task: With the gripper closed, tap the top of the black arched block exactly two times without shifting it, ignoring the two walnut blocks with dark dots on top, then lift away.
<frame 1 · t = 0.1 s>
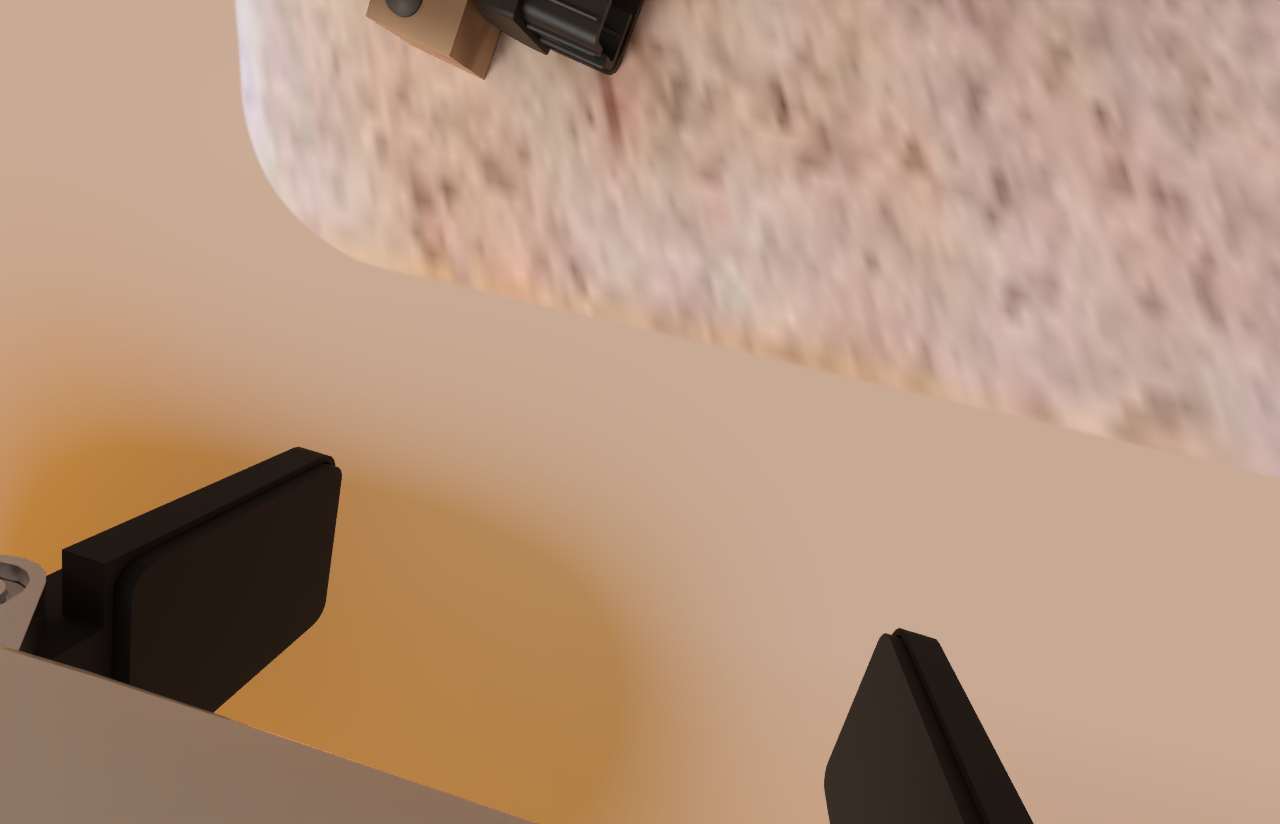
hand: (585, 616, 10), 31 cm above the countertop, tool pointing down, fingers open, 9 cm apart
marked block b: (462, 20, 38), on the countertop
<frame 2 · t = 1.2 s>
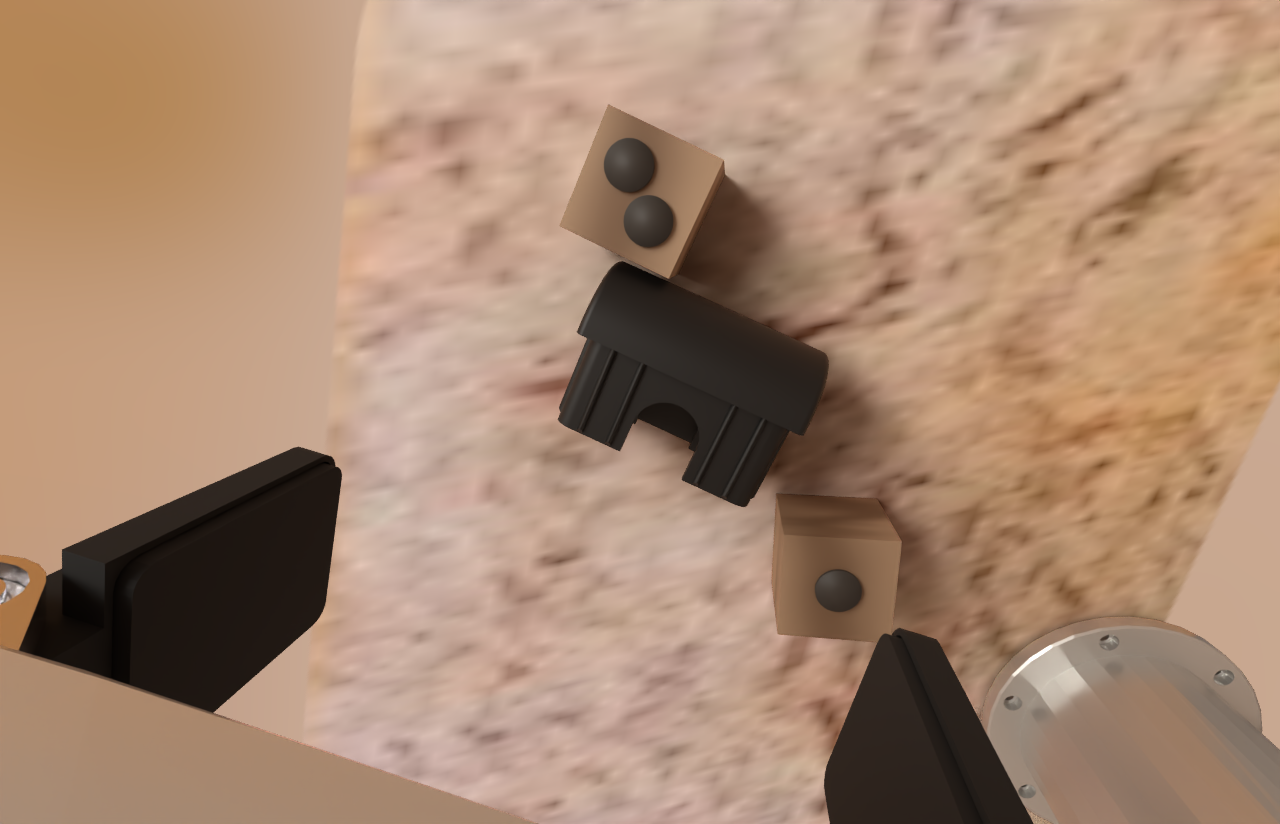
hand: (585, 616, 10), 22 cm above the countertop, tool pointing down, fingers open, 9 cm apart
marked block a: (822, 540, 33), on the countertop
marked block b: (653, 202, 30), on the countertop
black arched block: (694, 364, 32), on the countertop
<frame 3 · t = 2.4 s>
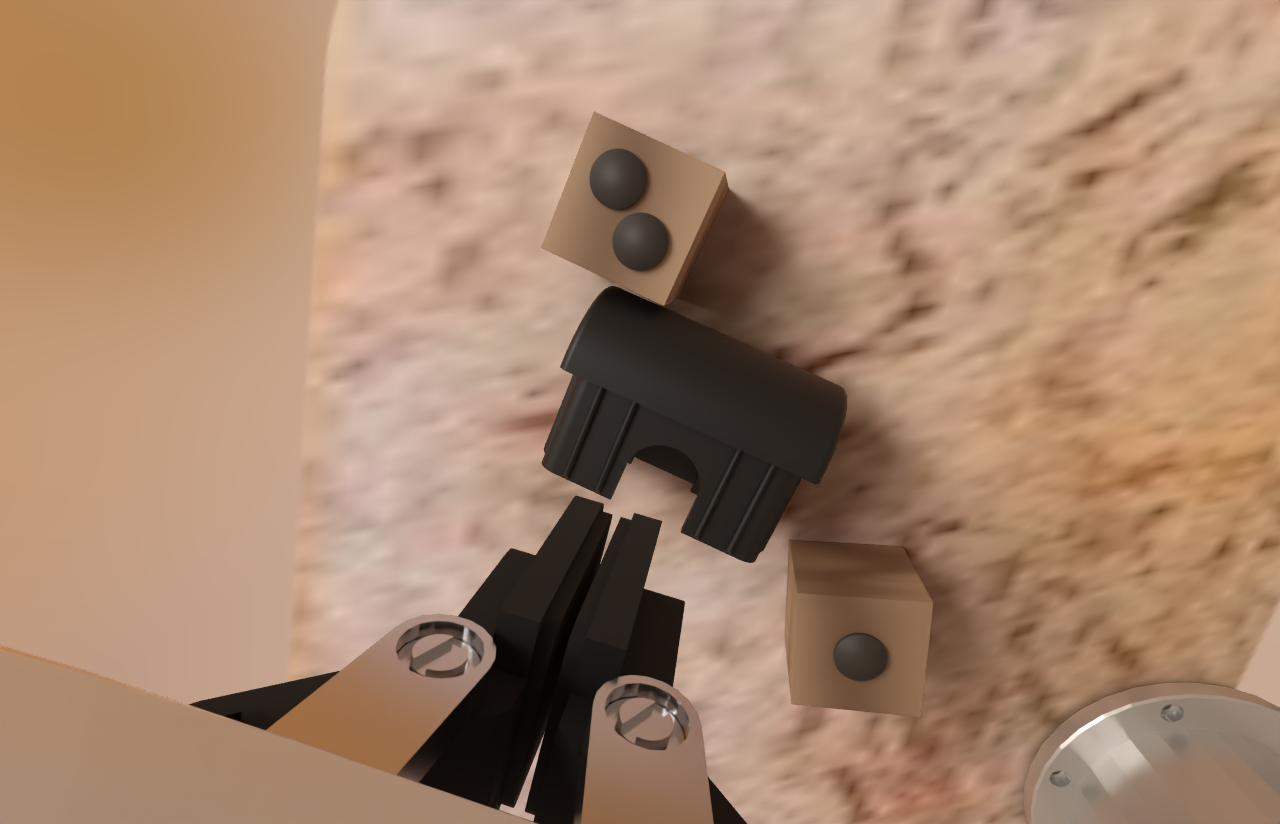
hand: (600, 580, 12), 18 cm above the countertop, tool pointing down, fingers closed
marked block a: (841, 591, 30), on the countertop
marked block b: (650, 220, 27), on the countertop
black arched block: (696, 397, 29), on the countertop
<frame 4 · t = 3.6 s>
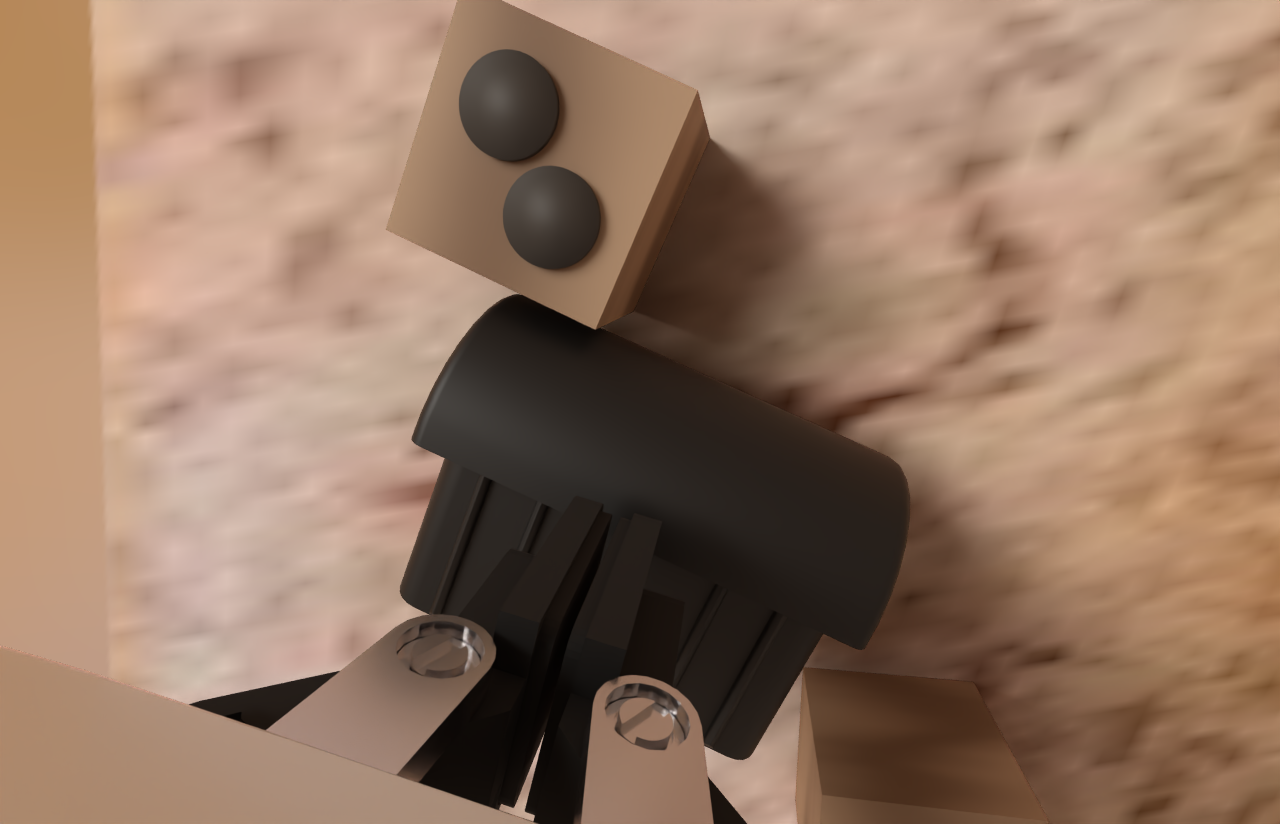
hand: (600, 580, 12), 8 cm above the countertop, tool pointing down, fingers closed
marked block a: (879, 741, 20), on the countertop
marked block b: (589, 190, 18), on the countertop
black arched block: (664, 458, 19), on the countertop
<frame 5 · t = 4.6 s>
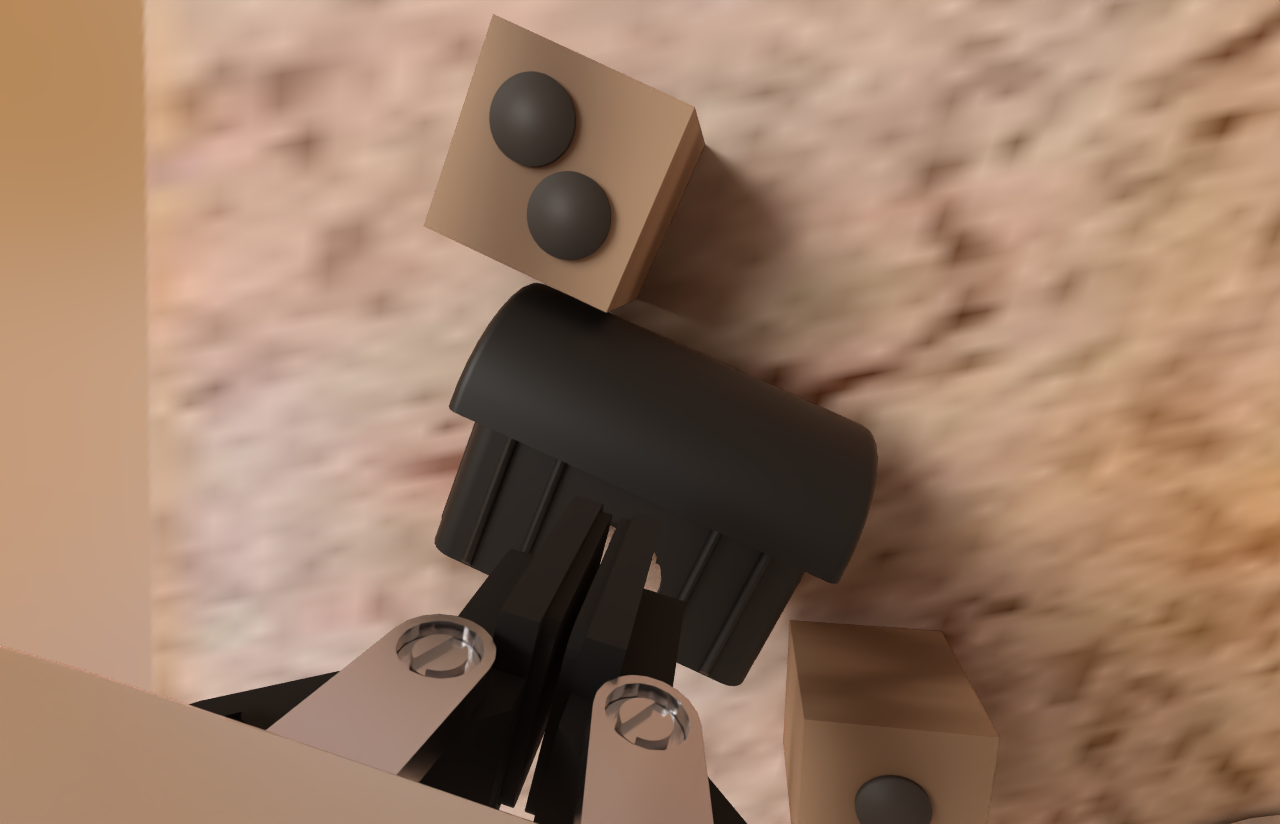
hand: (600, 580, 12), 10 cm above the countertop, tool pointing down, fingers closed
marked block a: (858, 687, 22), on the countertop
marked block b: (597, 190, 20), on the countertop
black arched block: (664, 432, 21), on the countertop
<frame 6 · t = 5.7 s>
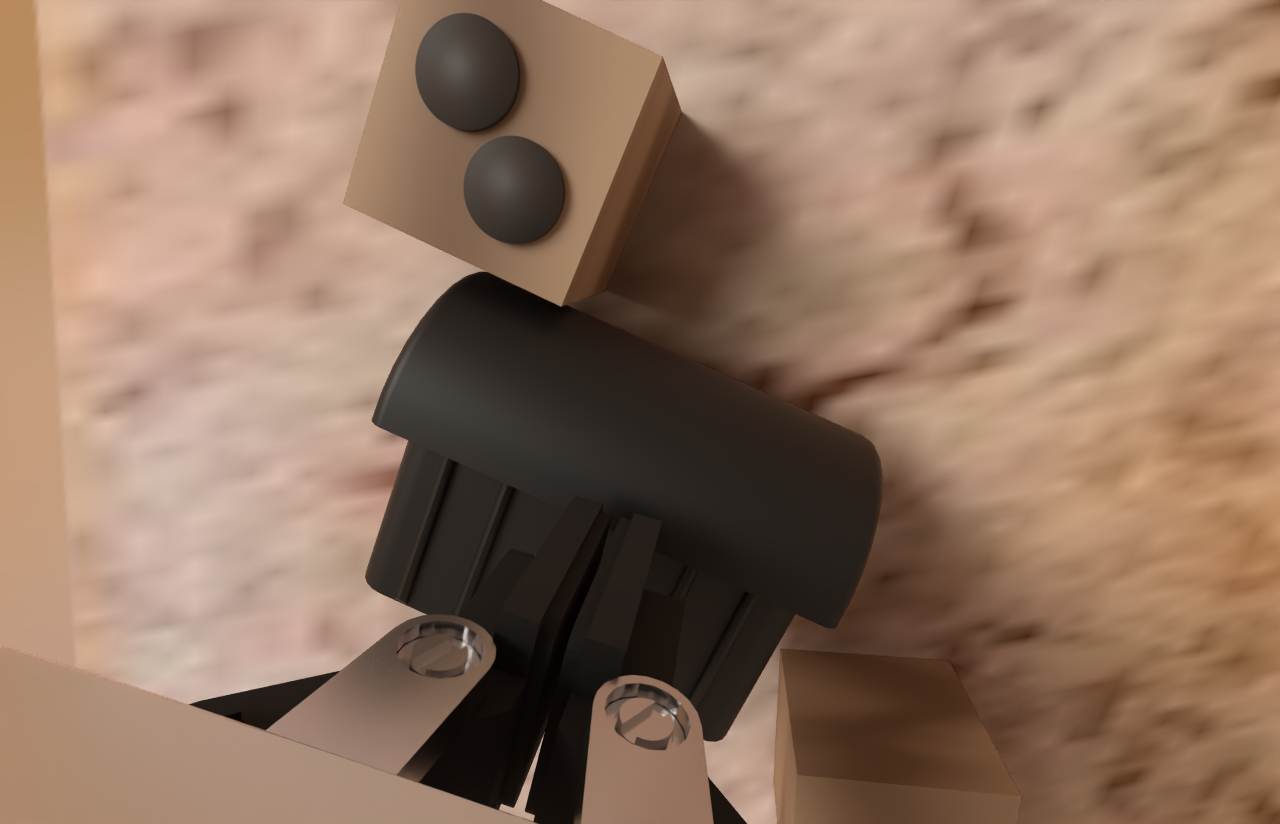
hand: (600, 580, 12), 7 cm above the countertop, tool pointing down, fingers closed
marked block a: (856, 721, 20), on the countertop
marked block b: (558, 165, 17), on the countertop
black arched block: (639, 441, 19), on the countertop
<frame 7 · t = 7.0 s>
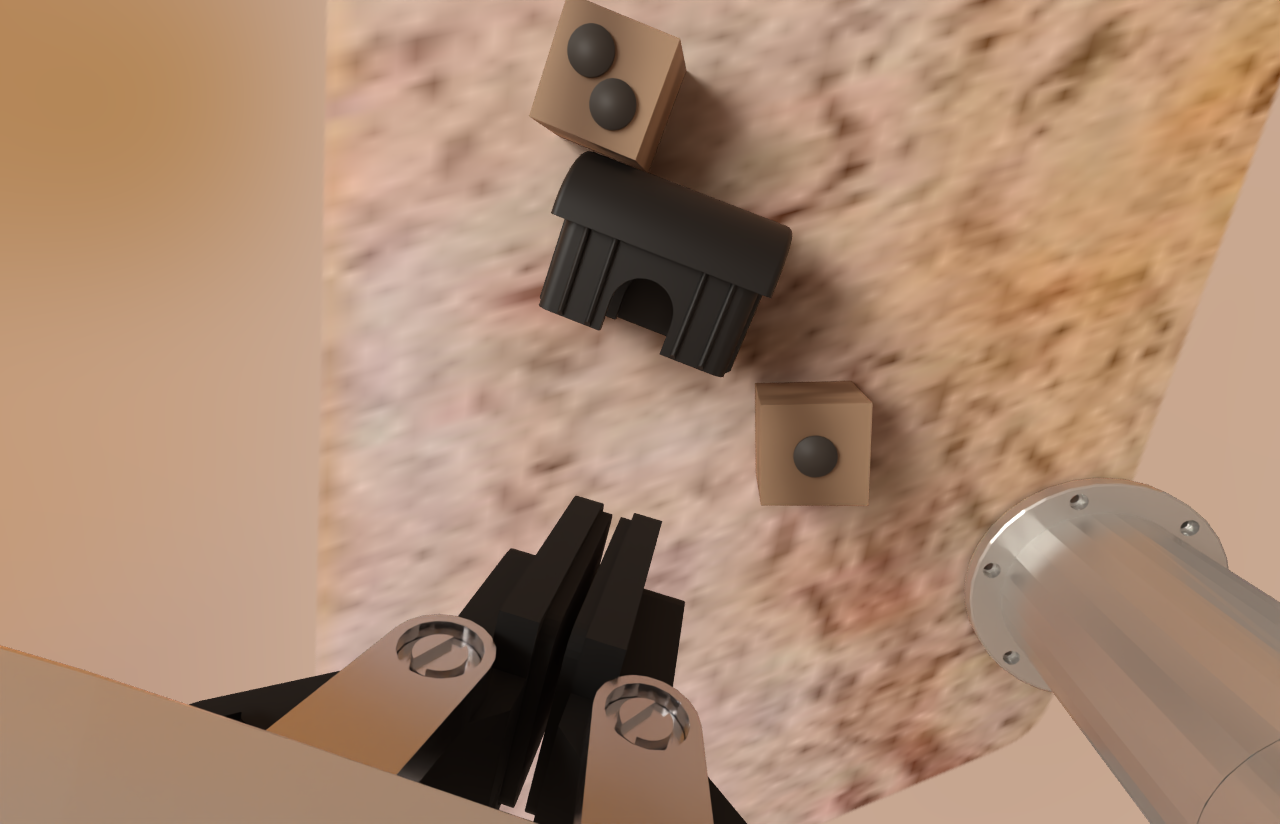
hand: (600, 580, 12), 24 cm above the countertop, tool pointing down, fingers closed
marked block a: (801, 426, 35), on the countertop
marked block b: (620, 104, 32), on the countertop
black arched block: (668, 262, 33), on the countertop
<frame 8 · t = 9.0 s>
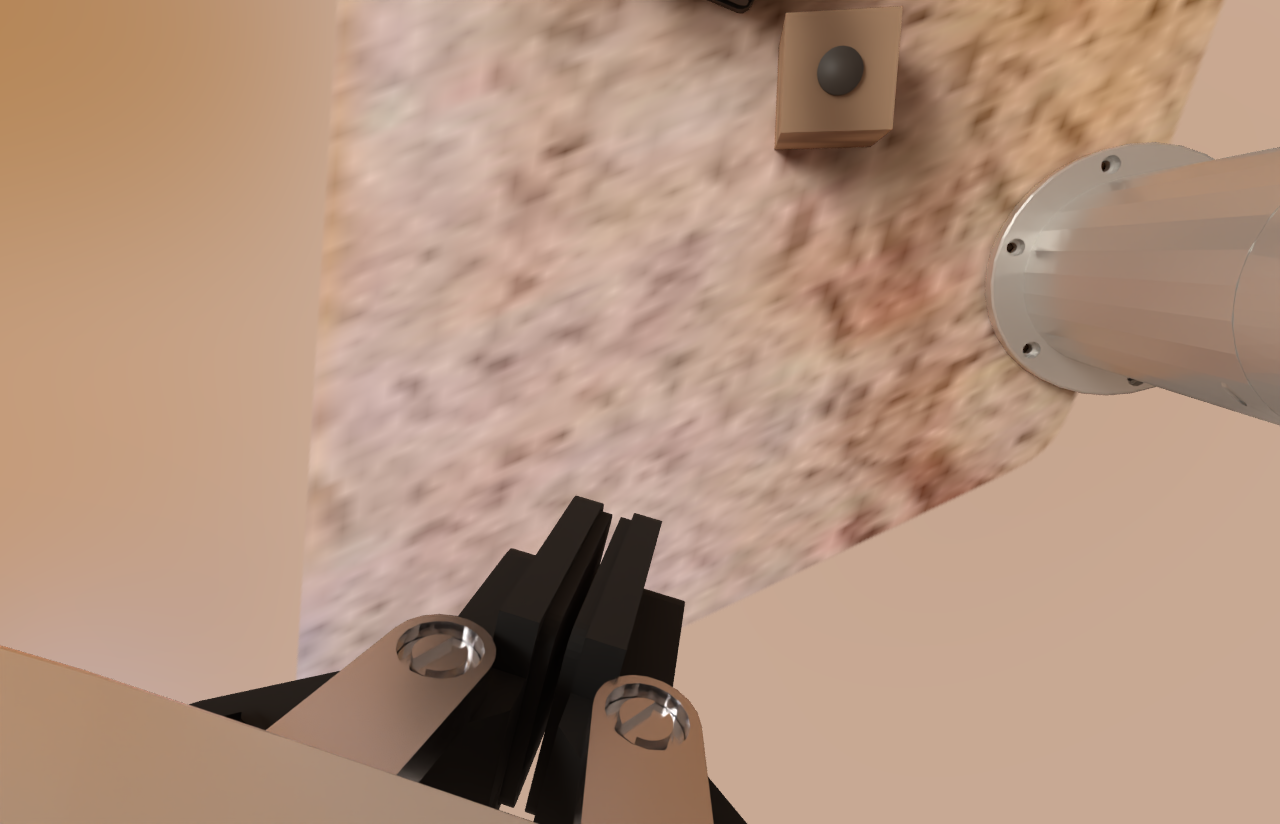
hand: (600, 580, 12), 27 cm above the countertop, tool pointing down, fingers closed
marked block a: (824, 97, 33), on the countertop
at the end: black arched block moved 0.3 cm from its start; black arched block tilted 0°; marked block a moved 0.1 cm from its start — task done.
